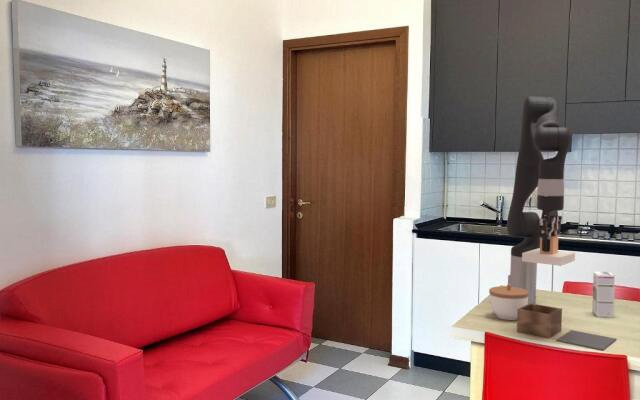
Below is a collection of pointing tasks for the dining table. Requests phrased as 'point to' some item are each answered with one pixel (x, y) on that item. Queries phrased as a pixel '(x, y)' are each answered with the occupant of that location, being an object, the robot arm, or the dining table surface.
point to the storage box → (539, 320)
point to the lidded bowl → (507, 301)
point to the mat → (586, 340)
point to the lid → (549, 254)
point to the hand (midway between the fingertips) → (548, 250)
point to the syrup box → (603, 294)
